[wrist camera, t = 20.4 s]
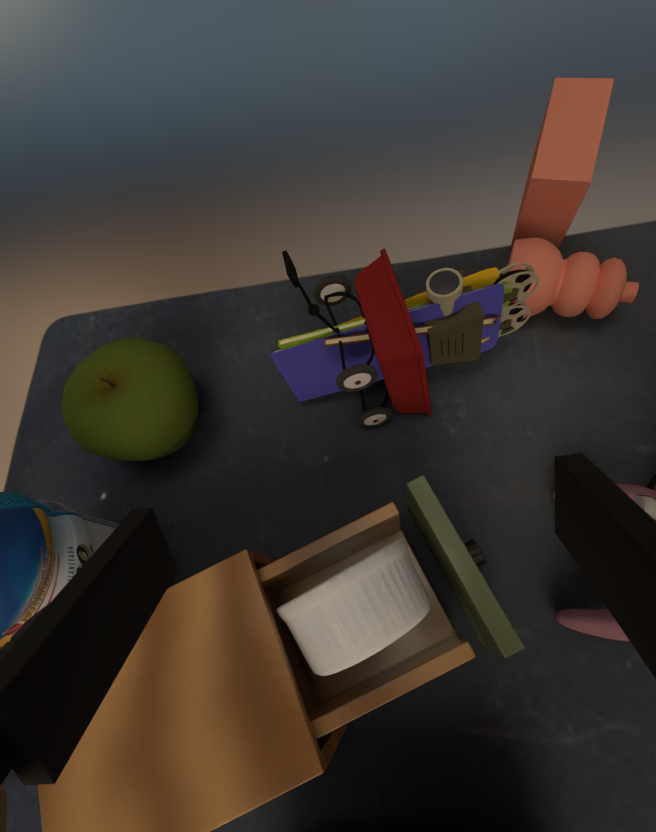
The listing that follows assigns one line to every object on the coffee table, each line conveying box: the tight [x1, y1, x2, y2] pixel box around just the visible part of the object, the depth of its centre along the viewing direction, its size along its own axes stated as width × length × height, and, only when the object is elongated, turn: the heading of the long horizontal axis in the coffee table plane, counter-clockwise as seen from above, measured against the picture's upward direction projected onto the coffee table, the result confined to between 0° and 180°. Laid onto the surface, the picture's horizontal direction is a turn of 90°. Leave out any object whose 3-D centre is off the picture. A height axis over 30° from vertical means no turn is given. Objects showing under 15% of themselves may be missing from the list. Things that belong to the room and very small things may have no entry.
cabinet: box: [38, 549, 349, 832], centre depth 27 cm, size 14×11×9 cm
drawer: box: [257, 475, 525, 739], centre depth 27 cm, size 15×10×8 cm
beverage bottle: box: [0, 492, 119, 647], centre depth 26 cm, size 8×8×20 cm
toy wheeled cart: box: [270, 249, 539, 428], centre depth 31 cm, size 17×9×20 cm
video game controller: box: [552, 484, 656, 641], centre depth 27 cm, size 10×5×7 cm, turn 170°
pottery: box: [507, 78, 639, 319], centre depth 36 cm, size 18×10×10 cm
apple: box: [62, 338, 198, 461], centre depth 36 cm, size 11×10×10 cm
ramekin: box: [276, 538, 430, 676], centre depth 26 cm, size 9×9×4 cm
